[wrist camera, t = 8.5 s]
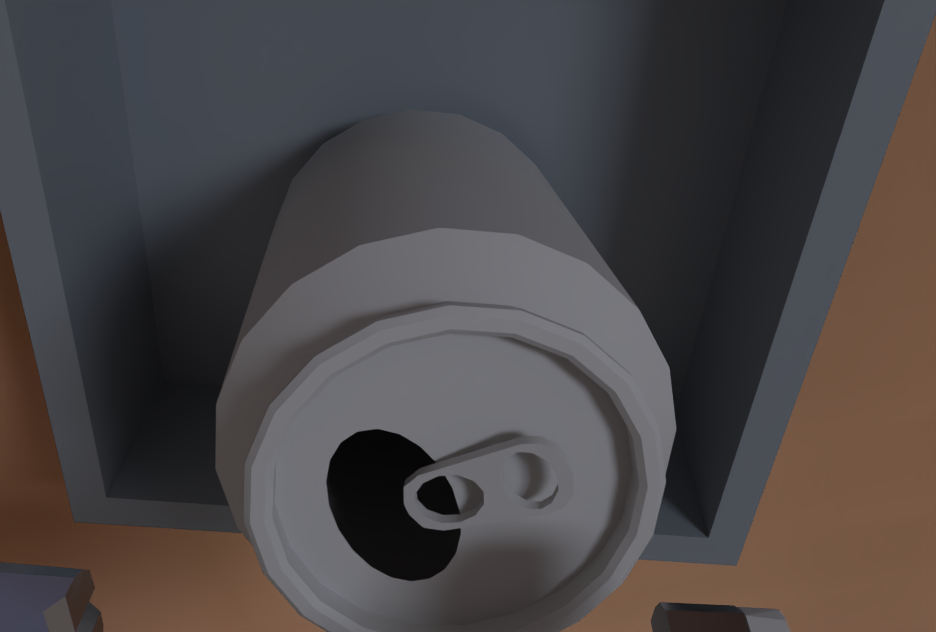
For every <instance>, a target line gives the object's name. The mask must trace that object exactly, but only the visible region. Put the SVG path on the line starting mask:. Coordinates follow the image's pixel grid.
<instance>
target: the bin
mask: <svg viewBox="0 0 936 632" xmlns="http://www.w3.org/2000/svg"><path fill="white" fill-rule="evenodd" d="M935 14H936V0H0V211H1V215H2V220H3V224H4V228H5V232H6V236H7V241H8V245H9V249H10V253H11V257H12V262H13V266H14V270H15V274H16V279H17V283H18V287H19V291H20V295H21V300H22V304H23V308H24V312H25V317H26V321H27V325H28V329H29V333H30V338H31V342H32V346H33V350H34V354H35V359H36V363H37V367H38V371H39V376H40V380H41V384H42V388H43V392H44V397H45V401H46V405H47V409H48V414H49V418H50V422H51V426H52V430H53V435H54V439H55V443H56V447H57V451H58V456H59V460H60V464H61V468H62V473H63V477H64V481H65V485H66V489H67V494H68V498H69V502H70V506H71V511H72V515H73V519H74V522H83V523H98V524H113V525H128V526H143V527H158V528H173V529H189V530H204V531H219V532H234V533H242V532H241V531H240V530H239V529H238V528H237V525H236V522H235V520H234V517H233V514H232V512H231V509H230V506H229V504H228V501H227V499H226V496H225V493H224V491H223V488H222V485H221V483H220V480H219V477H218V475H217V472H216V469H215V464H216V403H217V400H218V397H219V394H220V391H221V388H222V385H223V382H224V379H225V376H226V372H227V369H228V366H229V363H230V360H231V357H232V354H233V351H234V348H235V345H236V342H237V339H238V336H239V333H240V329H241V326H242V323H243V320H244V317H245V314H246V311H247V308H248V305H249V302H250V299H251V296H252V293H253V290H254V287H255V283H256V280H257V277H258V274H259V271H260V268H261V265H262V262H263V259H264V256H265V253H266V250H267V247H268V244H269V241H270V237H271V234H272V231H273V228H274V225H275V222H276V219H277V217H278V214H279V212H280V209H281V207H282V204H283V202H284V199H285V197H286V194H287V192H288V189H289V186H290V184H291V181H292V179H293V178H294V177H295V176H296V175H297V173H298V172H299V171H300V170H301V169H302V168H303V166H304V165H305V164H306V163H307V162H308V161H309V159H310V158H311V157H312V156H313V155H314V154H315V152H316V151H317V150H318V149H319V148H320V147H321V145H322V144H324V143H325V142H327V141H329V140H330V139H332V138H334V137H335V136H337V135H339V134H341V133H342V132H344V131H346V130H347V129H349V128H351V127H352V126H354V125H356V124H357V123H359V122H361V121H362V120H365V119H369V118H374V117H378V116H383V115H388V114H392V113H397V112H401V111H406V110H410V109H413V110H423V111H432V112H442V113H452V114H460V115H462V116H464V117H466V118H469V119H471V120H473V121H475V122H478V123H480V124H482V125H484V126H486V127H489V128H491V129H493V130H495V131H498V132H500V133H502V134H503V135H504V136H505V137H506V138H507V139H508V140H510V141H511V142H512V143H513V144H514V145H515V146H516V147H517V148H518V149H519V150H520V151H521V152H523V153H524V154H525V155H526V156H527V157H528V158H529V159H530V160H531V161H532V162H533V163H534V164H535V165H536V166H537V167H538V169H539V170H540V172H541V173H542V174H543V176H544V177H545V179H546V180H547V181H548V183H549V184H550V186H551V187H552V188H553V190H554V191H555V193H556V194H557V195H558V197H559V198H560V200H561V201H562V202H563V204H564V205H565V207H566V208H567V209H568V211H569V212H570V214H571V215H572V216H573V218H574V219H575V221H576V222H577V223H578V225H579V226H580V228H581V229H582V230H583V232H584V233H585V234H586V236H587V237H588V239H589V240H590V241H591V243H592V244H593V246H594V247H595V248H596V250H597V251H598V253H599V254H600V255H601V257H602V258H603V260H604V261H605V262H606V264H607V265H608V267H609V268H610V269H611V271H612V272H613V274H614V275H615V276H616V278H617V279H618V281H619V282H620V283H621V285H622V286H623V288H624V289H625V290H626V292H627V293H628V295H629V296H630V297H631V299H632V300H633V302H634V303H635V304H636V306H637V307H638V309H639V310H640V312H641V314H642V316H643V318H644V320H645V322H646V323H647V325H648V327H649V329H650V331H651V333H652V335H653V337H654V339H655V341H656V343H657V345H658V346H659V348H660V350H661V352H662V354H663V356H664V358H665V360H666V362H667V364H668V366H669V368H670V377H671V386H672V394H673V403H674V412H675V421H676V433H675V437H674V441H673V445H672V450H671V454H670V458H669V462H668V466H667V470H666V474H665V476H666V484H665V488H664V493H663V497H662V501H661V505H660V509H659V513H658V517H657V521H656V525H655V530H654V534H653V536H652V538H651V539H650V541H649V542H648V544H647V546H646V547H645V549H644V550H643V552H642V554H641V555H640V557H639V558H638V559H642V560H657V561H672V562H687V563H702V564H718V565H733V566H736V565H737V562H738V560H739V557H740V554H741V551H742V549H743V546H744V543H745V540H746V537H747V535H748V532H749V529H750V526H751V524H752V521H753V518H754V515H755V513H756V510H757V507H758V504H759V501H760V499H761V496H762V493H763V490H764V488H765V485H766V482H767V479H768V477H769V474H770V471H771V468H772V465H773V463H774V460H775V457H776V454H777V452H778V449H779V446H780V443H781V441H782V438H783V435H784V432H785V429H786V427H787V424H788V421H789V418H790V416H791V413H792V410H793V407H794V405H795V402H796V399H797V396H798V393H799V391H800V388H801V385H802V382H803V380H804V377H805V374H806V371H807V369H808V366H809V363H810V360H811V357H812V355H813V352H814V349H815V346H816V344H817V341H818V338H819V335H820V333H821V330H822V327H823V324H824V321H825V319H826V316H827V313H828V310H829V308H830V305H831V302H832V299H833V297H834V294H835V291H836V288H837V285H838V283H839V280H840V277H841V274H842V272H843V269H844V266H845V263H846V261H847V258H848V255H849V252H850V250H851V247H852V244H853V241H854V238H855V236H856V233H857V230H858V227H859V225H860V222H861V219H862V216H863V214H864V211H865V208H866V205H867V202H868V200H869V197H870V194H871V191H872V189H873V186H874V183H875V180H876V178H877V175H878V172H879V169H880V166H881V164H882V161H883V158H884V155H885V153H886V150H887V147H888V144H889V142H890V139H891V136H892V133H893V130H894V128H895V125H896V122H897V119H898V117H899V114H900V111H901V108H902V106H903V103H904V100H905V97H906V94H907V92H908V89H909V86H910V83H911V81H912V78H913V75H914V72H915V70H916V67H917V64H918V61H919V58H920V56H921V53H922V50H923V47H924V45H925V42H926V39H927V36H928V34H929V31H930V28H931V25H932V22H933V20H934V17H935Z"/></svg>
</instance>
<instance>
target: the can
mask: <svg viewBox="0 0 936 632" xmlns="http://www.w3.org/2000/svg"><path fill="white" fill-rule="evenodd" d="M675 433H676V421H675V412H674V403H673V394H672V386H671V377H670V368H669V366H668V364H667V362H666V360H665V358H664V356H663V354H662V352H661V350H660V348H659V346H658V345H657V343H656V341H655V339H654V337H653V335H652V333H651V331H650V329H649V327H648V325H647V323H646V322H645V320H644V318H643V316H642V314H641V312H640V310H639V309H638V307H637V306H636V304H635V303H634V302H633V300H632V299H631V297H630V296H629V295H628V293H627V292H626V290H625V289H624V288H623V286H622V285H621V283H620V282H619V281H618V279H617V278H616V276H615V275H614V274H613V272H612V271H611V269H610V268H609V267H608V265H607V264H606V262H605V261H604V260H603V258H602V257H601V255H600V254H599V253H598V251H597V250H596V248H595V247H594V246H593V244H592V243H591V241H590V240H589V239H588V237H587V236H586V234H585V233H584V232H583V230H582V229H581V228H580V226H579V225H578V223H577V222H576V221H575V219H574V218H573V216H572V215H571V214H570V212H569V211H568V209H567V208H566V207H565V205H564V204H563V202H562V201H561V200H560V198H559V197H558V195H557V194H556V193H555V191H554V190H553V188H552V187H551V186H550V184H549V183H548V181H547V180H546V179H545V177H544V176H543V174H542V173H541V172H540V170H539V169H538V167H537V166H536V165H535V164H534V163H533V162H532V161H531V160H530V159H529V158H528V157H527V156H526V155H525V154H524V153H523V152H521V151H520V150H519V149H518V148H517V147H516V146H515V145H514V144H513V143H512V142H511V141H510V140H508V139H507V138H506V137H505V136H504V135H503V134H502V133H500V132H498V131H495V130H493V129H491V128H489V127H486V126H484V125H482V124H480V123H478V122H475V121H473V120H471V119H469V118H466V117H464V116H462V115H460V114H452V113H442V112H432V111H423V110H413V109H410V110H406V111H401V112H397V113H392V114H388V115H383V116H378V117H374V118H369V119H365V120H362V121H361V122H359V123H357V124H356V125H354V126H352V127H351V128H349V129H347V130H346V131H344V132H342V133H341V134H339V135H337V136H335V137H334V138H332V139H330V140H329V141H327V142H325V143H324V144H322V145H321V147H320V148H319V149H318V150H317V151H316V152H315V154H314V155H313V156H312V157H311V158H310V159H309V161H308V162H307V163H306V164H305V165H304V166H303V168H302V169H301V170H300V171H299V172H298V173H297V175H296V176H295V177H294V178H293V179H292V181H291V184H290V186H289V189H288V192H287V194H286V197H285V199H284V202H283V204H282V207H281V209H280V212H279V214H278V217H277V219H276V222H275V225H274V228H273V231H272V234H271V237H270V241H269V244H268V247H267V250H266V253H265V256H264V259H263V262H262V265H261V268H260V271H259V274H258V277H257V280H256V283H255V287H254V290H253V293H252V296H251V299H250V302H249V305H248V308H247V311H246V314H245V317H244V320H243V323H242V326H241V329H240V333H239V336H238V339H237V342H236V345H235V348H234V351H233V354H232V357H231V360H230V363H229V366H228V369H227V372H226V376H225V379H224V382H223V385H222V388H221V391H220V394H219V397H218V400H217V403H216V464H215V469H216V472H217V475H218V477H219V480H220V483H221V485H222V488H223V491H224V493H225V496H226V499H227V501H228V504H229V506H230V509H231V512H232V514H233V517H234V520H235V522H236V525H237V528H238V529H239V530H240V531H241V532H242V534H243V535H244V536H245V537H246V538H247V539H248V541H249V542H250V543H251V544H252V545H253V547H254V550H255V553H256V555H257V558H258V561H259V563H260V566H261V569H262V571H263V573H264V574H265V576H266V577H267V578H268V579H269V580H270V581H271V583H272V584H273V585H274V586H275V587H276V588H277V590H278V591H279V592H280V593H281V594H282V595H283V596H284V598H285V599H286V600H287V601H288V602H289V603H290V605H291V606H292V607H293V608H294V609H295V610H296V612H297V613H298V614H299V615H300V616H302V617H303V618H305V619H307V620H308V621H310V622H312V623H313V624H315V625H317V626H318V627H320V628H322V629H323V630H325V631H327V632H559V631H561V630H563V629H565V628H567V627H569V626H571V625H573V624H575V623H577V622H579V621H580V620H581V619H582V618H584V617H585V616H586V615H587V614H588V613H589V612H590V611H592V610H593V609H594V608H595V607H596V606H597V605H598V604H600V603H601V602H602V601H603V600H604V599H605V598H606V597H607V596H609V595H610V594H611V593H612V592H613V591H614V590H615V589H617V588H618V587H619V586H620V585H621V584H622V583H623V582H624V580H625V579H626V577H627V576H628V574H629V573H630V571H631V569H632V568H633V566H634V565H635V563H636V561H637V560H638V558H639V557H640V555H641V554H642V552H643V550H644V549H645V547H646V546H647V544H648V542H649V541H650V539H651V538H652V536H653V534H654V530H655V525H656V521H657V517H658V513H659V509H660V505H661V501H662V497H663V493H664V488H665V484H666V476H665V474H666V470H667V466H668V462H669V458H670V454H671V450H672V445H673V441H674V437H675Z"/></svg>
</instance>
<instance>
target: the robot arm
mask: <svg viewBox="0 0 936 632" xmlns="http://www.w3.org/2000/svg"><path fill="white" fill-rule="evenodd" d="M94 589H95V587H94V583H93V580H92V576H91V573H90V570H84V569H73V568H61V567H50V566H38V565H27V564H15V563H4V562H0V632H103V621H102V617H101V612H100V611H99V610H98V609H97V608H96V607H94V606H93V605H92V604H91V603H89V600H90V598H91V595H92V593H93V591H94ZM651 624H652V630H653V632H790V630H789V627H788V624H787V622H786V619H785V617H784V615H783V614H782V613H781V612H780V611H779V609H767V608H748V607H735V606H729V605H707V604H685V603H663V602H660V603H659V604H658V605H657V606H656V607H655V609H654V613H653V616H652V619H651Z"/></svg>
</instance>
